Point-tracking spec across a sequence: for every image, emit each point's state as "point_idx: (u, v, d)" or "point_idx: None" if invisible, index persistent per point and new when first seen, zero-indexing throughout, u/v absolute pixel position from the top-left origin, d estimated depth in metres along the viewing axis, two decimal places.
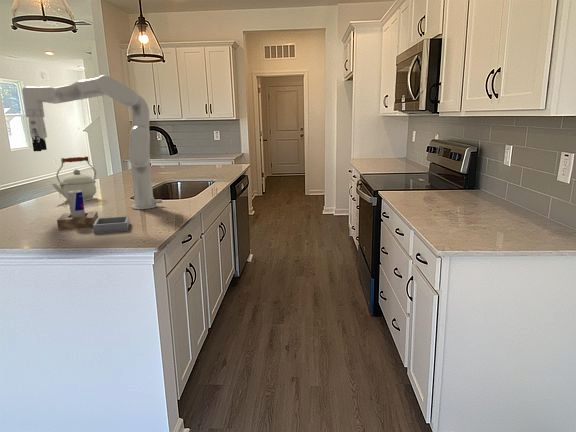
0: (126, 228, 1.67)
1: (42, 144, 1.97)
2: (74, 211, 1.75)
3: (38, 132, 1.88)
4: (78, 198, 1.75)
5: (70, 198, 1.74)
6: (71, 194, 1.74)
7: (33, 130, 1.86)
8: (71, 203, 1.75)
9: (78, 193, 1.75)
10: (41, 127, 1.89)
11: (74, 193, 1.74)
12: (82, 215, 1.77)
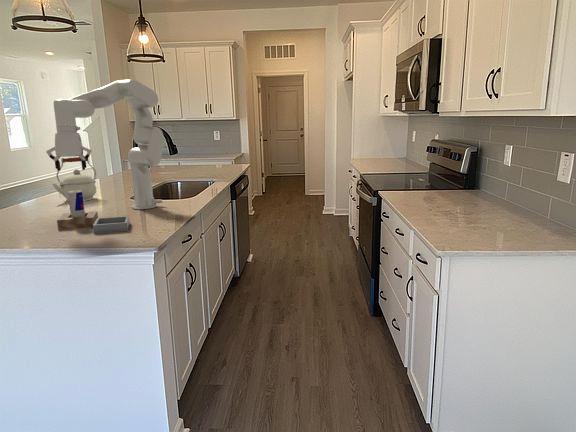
0: (126, 228, 1.67)
1: (59, 164, 1.72)
2: (74, 211, 1.75)
3: None
4: (78, 198, 1.75)
5: (70, 198, 1.74)
6: (71, 194, 1.74)
7: (84, 147, 1.73)
8: (71, 203, 1.75)
9: (78, 193, 1.75)
10: None
11: (74, 193, 1.74)
12: (82, 215, 1.77)
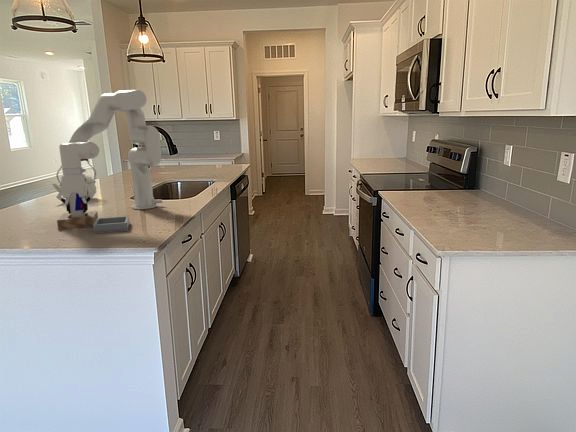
0: (126, 228, 1.67)
1: None
2: (74, 211, 1.75)
3: None
4: (78, 198, 1.75)
5: (70, 198, 1.74)
6: (71, 194, 1.74)
7: (89, 190, 1.78)
8: (71, 203, 1.75)
9: None
10: None
11: (74, 193, 1.74)
12: (82, 215, 1.77)
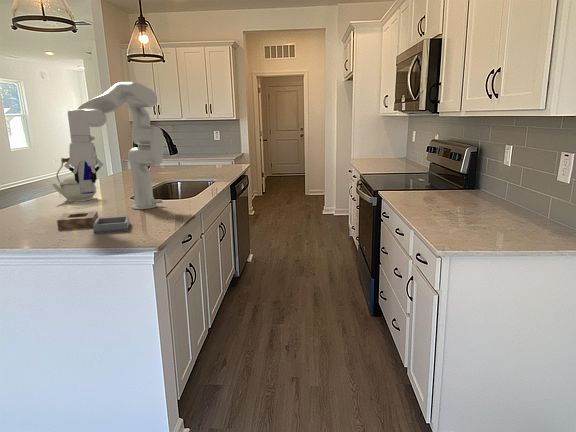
0: (126, 228, 1.67)
1: None
2: (82, 180, 1.69)
3: None
4: (87, 167, 1.69)
5: (78, 167, 1.68)
6: (79, 163, 1.68)
7: (98, 159, 1.71)
8: (79, 172, 1.69)
9: (86, 162, 1.69)
10: None
11: (82, 162, 1.68)
12: (91, 185, 1.71)
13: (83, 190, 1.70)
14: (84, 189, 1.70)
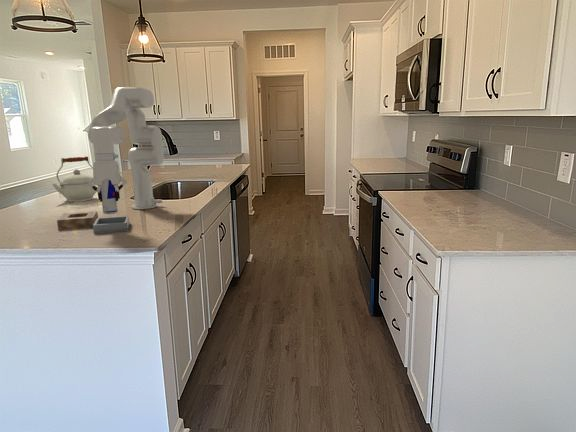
0: (126, 228, 1.67)
1: None
2: (106, 199, 1.66)
3: None
4: (111, 185, 1.66)
5: (102, 185, 1.65)
6: (103, 181, 1.64)
7: (121, 177, 1.68)
8: (103, 191, 1.65)
9: None
10: None
11: (106, 180, 1.65)
12: (114, 204, 1.68)
13: (106, 209, 1.67)
14: (107, 207, 1.67)
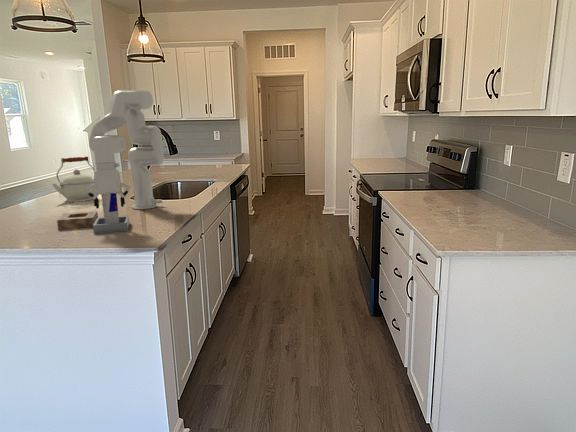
0: (126, 228, 1.67)
1: (98, 201, 1.68)
2: (108, 212, 1.68)
3: None
4: (113, 198, 1.67)
5: (104, 199, 1.67)
6: (105, 194, 1.66)
7: None
8: (105, 204, 1.67)
9: (112, 193, 1.67)
10: None
11: (108, 193, 1.66)
12: (116, 216, 1.70)
13: (108, 222, 1.69)
14: (109, 220, 1.68)
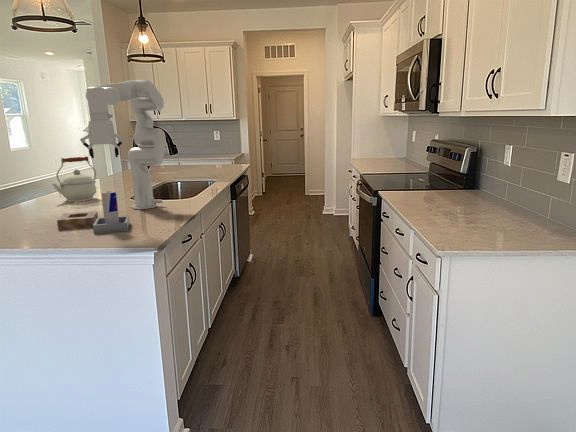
0: (126, 228, 1.67)
1: (92, 151, 1.74)
2: (108, 212, 1.68)
3: None
4: (112, 198, 1.67)
5: (104, 199, 1.67)
6: (105, 195, 1.66)
7: None
8: (105, 204, 1.67)
9: (112, 194, 1.67)
10: None
11: (108, 193, 1.66)
12: (116, 216, 1.70)
13: (108, 222, 1.69)
14: (109, 220, 1.68)
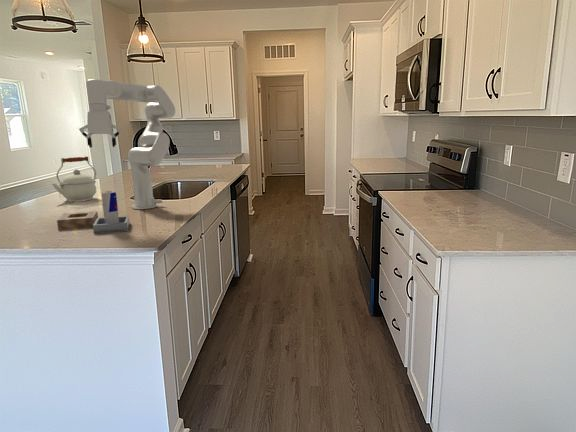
0: (126, 228, 1.67)
1: (91, 141, 1.82)
2: (108, 212, 1.68)
3: (112, 127, 1.85)
4: (112, 198, 1.67)
5: (104, 199, 1.67)
6: (105, 195, 1.66)
7: (114, 125, 1.83)
8: (105, 204, 1.67)
9: (112, 193, 1.67)
10: None
11: (108, 193, 1.66)
12: (116, 216, 1.70)
13: (108, 222, 1.69)
14: (109, 220, 1.68)
